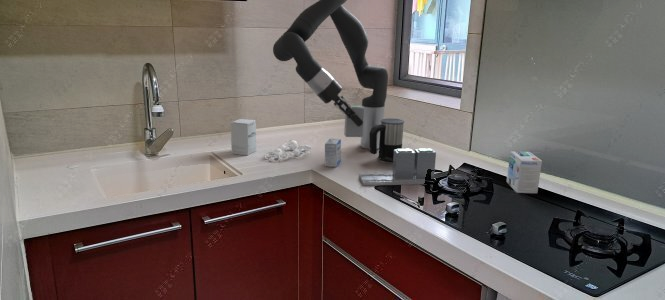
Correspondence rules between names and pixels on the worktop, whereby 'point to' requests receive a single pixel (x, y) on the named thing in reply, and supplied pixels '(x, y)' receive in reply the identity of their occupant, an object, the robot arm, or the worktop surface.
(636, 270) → the worktop surface
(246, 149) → the supplement box
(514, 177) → the light bulb box
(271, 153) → the white lumpy mound
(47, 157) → the worktop surface
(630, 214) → the worktop surface
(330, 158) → the medicine box
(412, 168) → the grey module rack
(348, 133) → the block
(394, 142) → the milk frother
